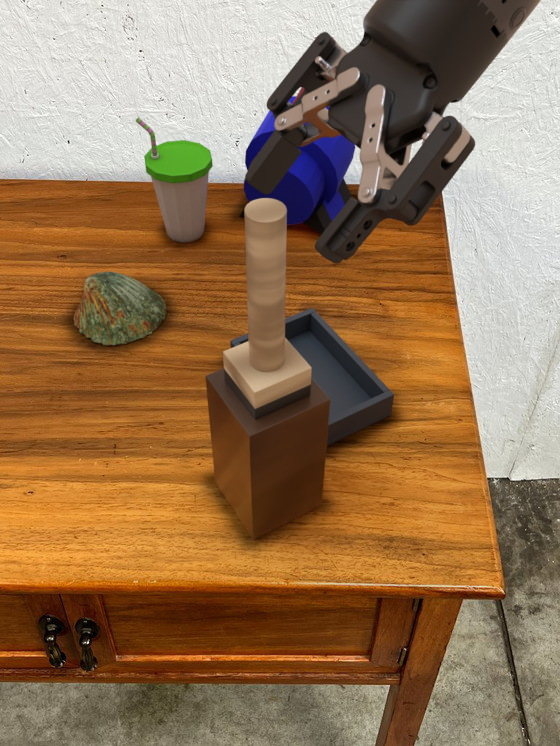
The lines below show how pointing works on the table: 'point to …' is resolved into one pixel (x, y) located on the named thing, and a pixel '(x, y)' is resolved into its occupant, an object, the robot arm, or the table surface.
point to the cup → (179, 184)
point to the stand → (268, 456)
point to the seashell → (118, 309)
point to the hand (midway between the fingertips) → (288, 220)
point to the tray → (337, 375)
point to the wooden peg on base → (266, 319)
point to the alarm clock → (307, 177)
